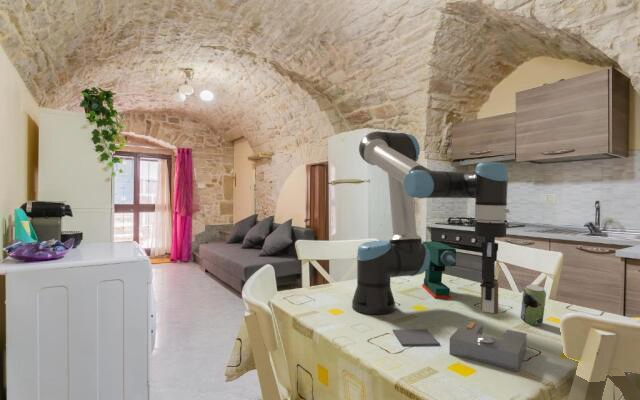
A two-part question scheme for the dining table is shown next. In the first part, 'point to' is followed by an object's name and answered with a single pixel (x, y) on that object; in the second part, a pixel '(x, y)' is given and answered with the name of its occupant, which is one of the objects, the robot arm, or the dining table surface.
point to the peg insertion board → (489, 346)
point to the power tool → (438, 269)
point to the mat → (415, 337)
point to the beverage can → (533, 304)
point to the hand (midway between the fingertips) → (488, 308)
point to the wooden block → (494, 297)
